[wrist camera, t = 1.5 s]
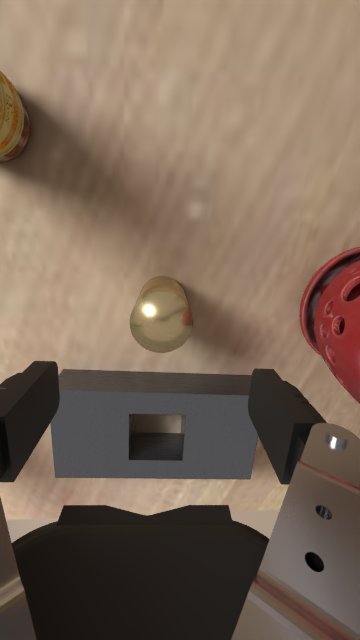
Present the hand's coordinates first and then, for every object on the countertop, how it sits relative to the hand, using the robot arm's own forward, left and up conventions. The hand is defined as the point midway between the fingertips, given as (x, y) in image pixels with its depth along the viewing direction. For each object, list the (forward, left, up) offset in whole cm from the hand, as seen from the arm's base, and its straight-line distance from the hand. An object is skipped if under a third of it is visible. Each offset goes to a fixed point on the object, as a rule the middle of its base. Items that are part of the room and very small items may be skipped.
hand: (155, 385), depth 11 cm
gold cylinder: (0, 0, -16) cm, 16 cm away
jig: (0, +13, -16) cm, 21 cm away
